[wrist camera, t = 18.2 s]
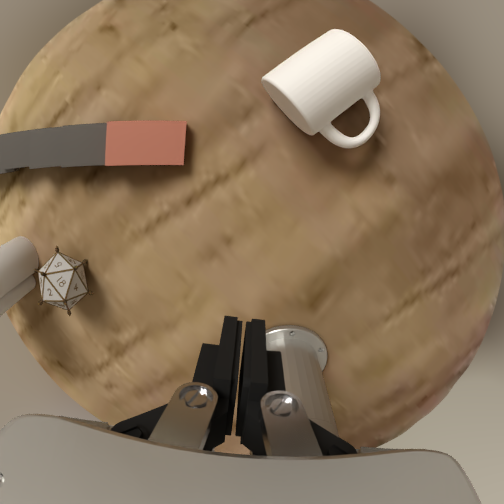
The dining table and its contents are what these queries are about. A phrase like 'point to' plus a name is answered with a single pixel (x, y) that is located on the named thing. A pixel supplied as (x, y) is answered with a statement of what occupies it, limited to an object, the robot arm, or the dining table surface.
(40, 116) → the dining table surface
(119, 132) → the red tile
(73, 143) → the black tile
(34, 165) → the dark gray domino tile
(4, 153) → the black tile
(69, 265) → the game die
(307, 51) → the mug
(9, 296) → the vase
